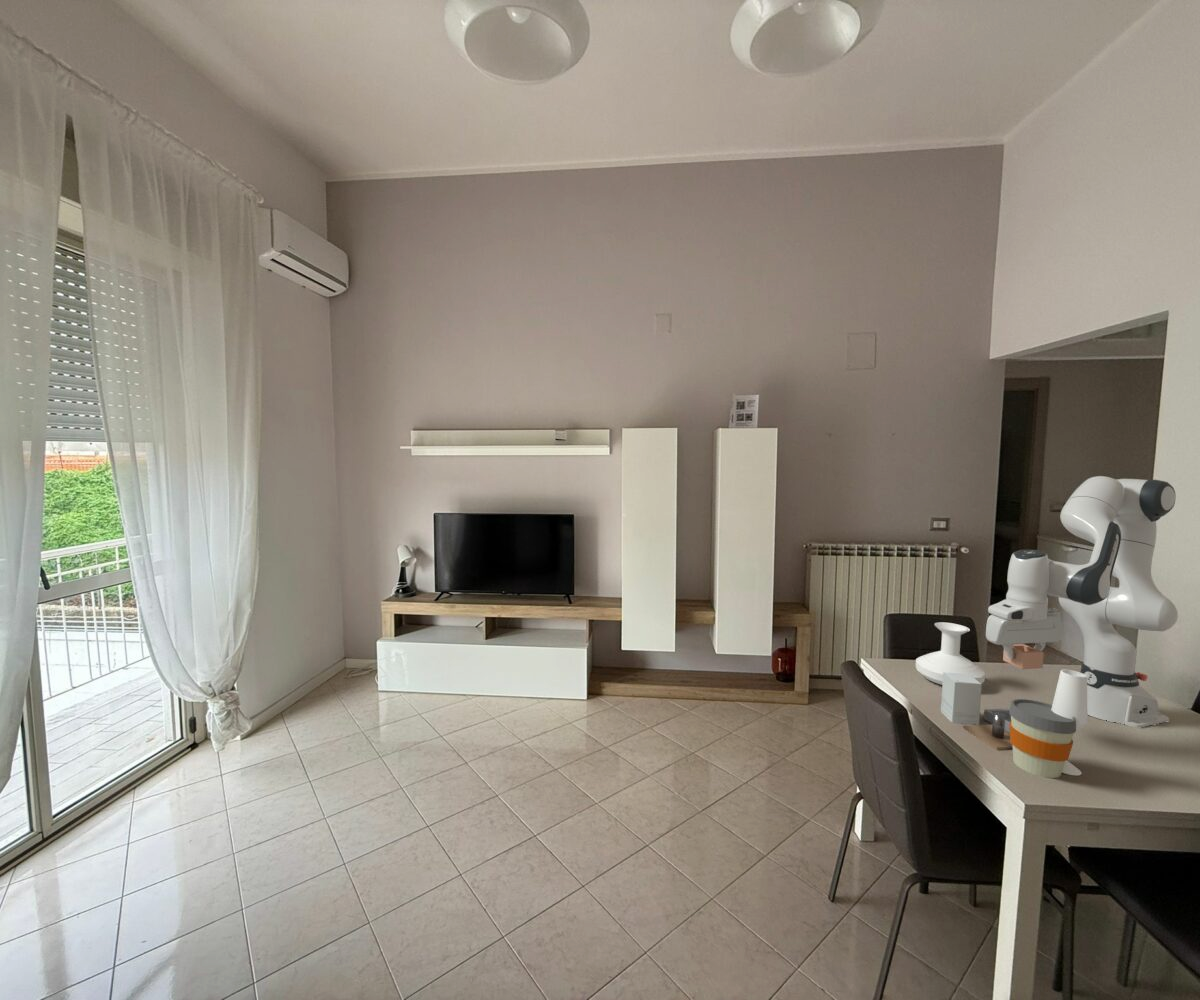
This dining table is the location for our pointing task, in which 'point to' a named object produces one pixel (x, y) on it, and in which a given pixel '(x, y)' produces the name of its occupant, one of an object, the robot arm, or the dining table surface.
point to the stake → (998, 725)
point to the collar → (1025, 657)
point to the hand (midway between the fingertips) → (1022, 657)
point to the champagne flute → (1071, 704)
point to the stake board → (990, 736)
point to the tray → (989, 713)
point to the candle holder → (948, 656)
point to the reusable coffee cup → (1040, 737)
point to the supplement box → (961, 698)
